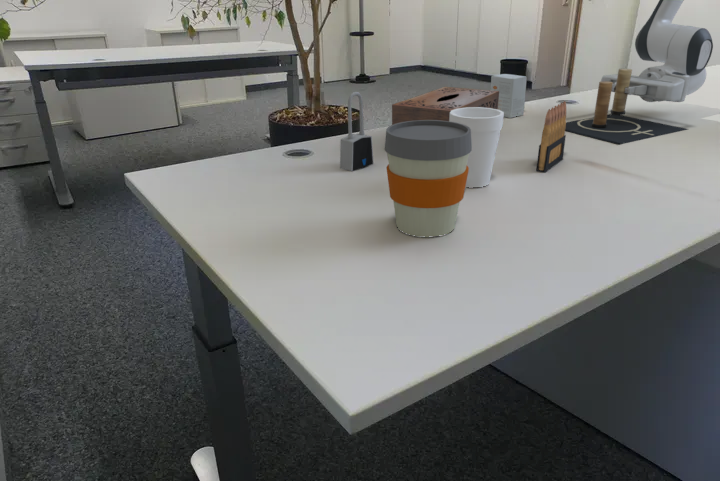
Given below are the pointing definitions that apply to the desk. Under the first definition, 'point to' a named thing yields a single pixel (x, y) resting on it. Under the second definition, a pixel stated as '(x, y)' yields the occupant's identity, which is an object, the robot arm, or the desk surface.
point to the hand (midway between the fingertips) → (619, 89)
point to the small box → (510, 93)
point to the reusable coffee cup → (427, 174)
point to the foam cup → (480, 141)
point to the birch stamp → (621, 91)
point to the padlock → (356, 143)
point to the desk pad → (621, 129)
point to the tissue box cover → (442, 104)
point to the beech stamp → (602, 104)
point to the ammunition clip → (552, 138)
